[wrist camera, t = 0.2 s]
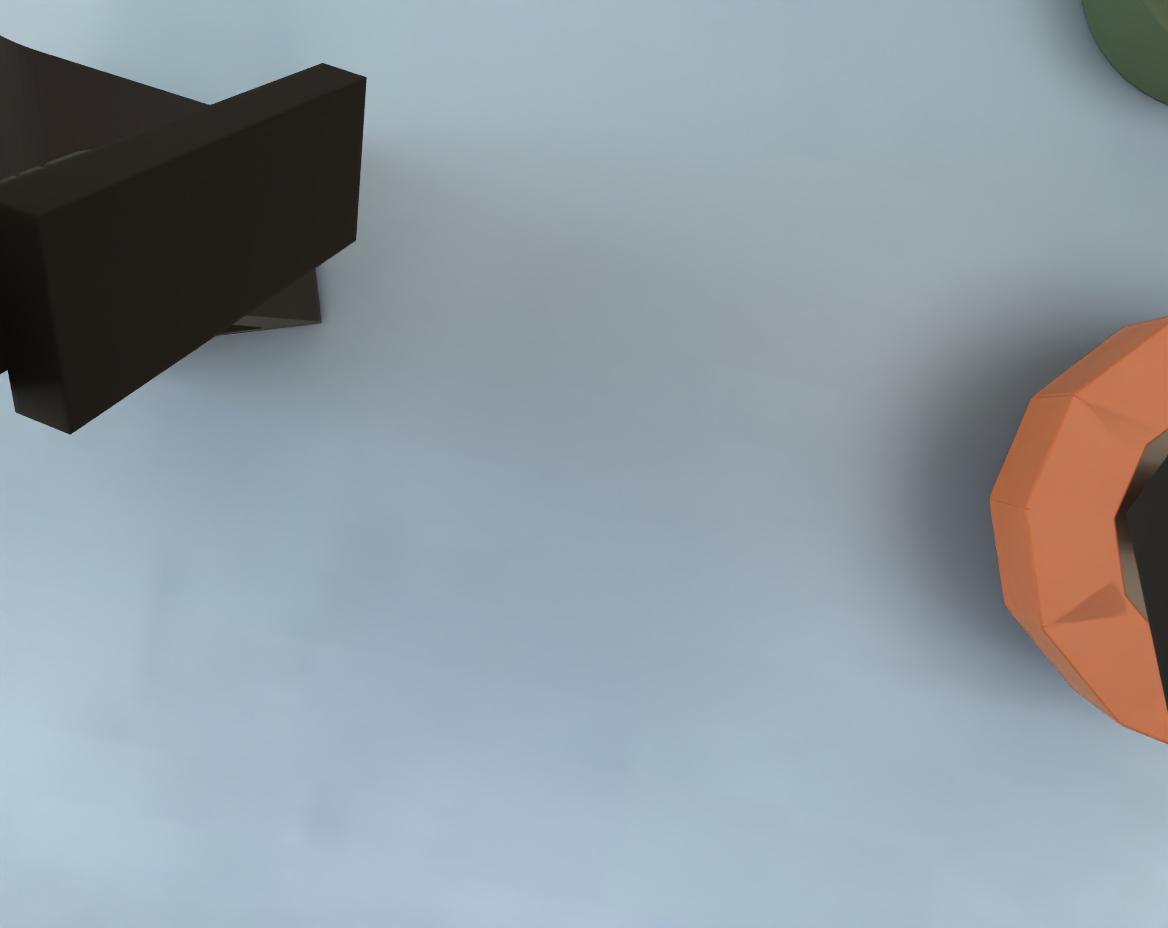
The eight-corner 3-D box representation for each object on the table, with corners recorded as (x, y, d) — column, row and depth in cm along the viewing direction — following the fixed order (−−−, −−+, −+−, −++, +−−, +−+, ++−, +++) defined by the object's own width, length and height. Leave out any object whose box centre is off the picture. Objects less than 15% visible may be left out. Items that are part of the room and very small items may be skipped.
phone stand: (69, 353, 32) (-302, 315, 21) (50, 173, 32) (-337, 29, 20) (325, 324, 31) (86, 266, 19) (306, 137, 31) (53, -38, 19)
